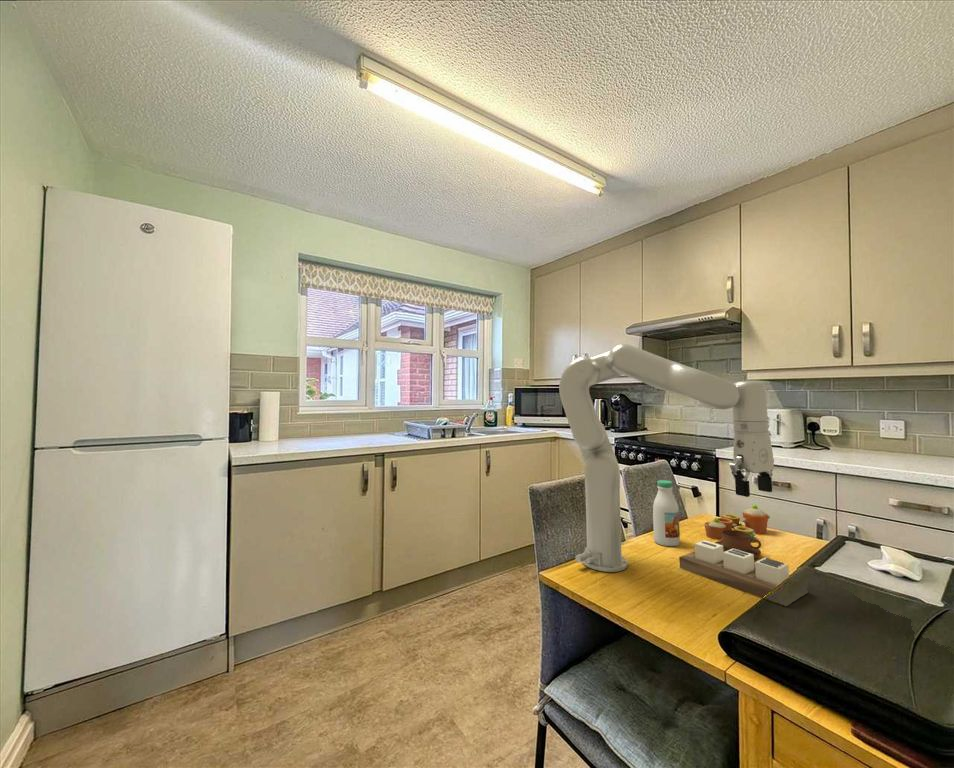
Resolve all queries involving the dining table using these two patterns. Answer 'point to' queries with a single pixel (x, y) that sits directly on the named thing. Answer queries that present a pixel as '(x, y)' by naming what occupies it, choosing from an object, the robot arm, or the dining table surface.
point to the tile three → (771, 571)
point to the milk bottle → (666, 516)
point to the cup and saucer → (739, 542)
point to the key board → (726, 575)
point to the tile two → (738, 561)
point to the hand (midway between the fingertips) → (754, 493)
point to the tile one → (709, 552)
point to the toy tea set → (751, 518)
